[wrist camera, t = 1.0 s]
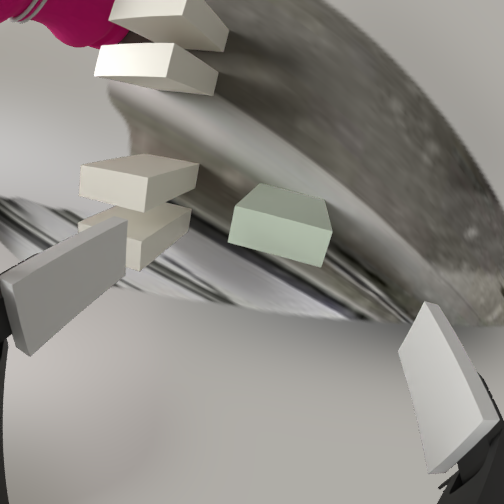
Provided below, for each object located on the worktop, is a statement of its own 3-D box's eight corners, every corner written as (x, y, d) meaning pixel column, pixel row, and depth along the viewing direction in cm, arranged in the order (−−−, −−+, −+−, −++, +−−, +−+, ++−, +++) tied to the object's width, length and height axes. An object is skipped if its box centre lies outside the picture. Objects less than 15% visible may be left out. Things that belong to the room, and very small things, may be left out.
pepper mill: (146, -5, 22) (12, -77, 3) (128, 52, 25) (-33, 14, 6) (96, 2, 22) (-34, -40, 4) (80, 55, 25) (-66, 39, 7)
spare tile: (254, 207, 28) (227, 242, 19) (260, 182, 27) (235, 205, 18) (317, 224, 28) (321, 267, 19) (324, 199, 27) (332, 231, 18)
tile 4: (156, 90, 26) (93, 76, 17) (161, 67, 25) (101, 45, 16) (213, 96, 25) (165, 77, 16) (218, 72, 24) (174, 43, 15)
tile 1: (137, 217, 31) (78, 250, 22) (139, 196, 30) (78, 222, 21) (188, 231, 30) (139, 271, 21) (191, 208, 30) (141, 241, 20)
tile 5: (166, 48, 24) (108, 20, 15) (171, 27, 23) (117, -7, 14) (223, 52, 24) (182, 15, 14) (229, 30, 23) (191, -14, 13)
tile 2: (141, 176, 29) (78, 196, 20) (145, 153, 28) (80, 164, 19) (195, 188, 29) (144, 212, 20) (199, 163, 28) (148, 177, 19)
